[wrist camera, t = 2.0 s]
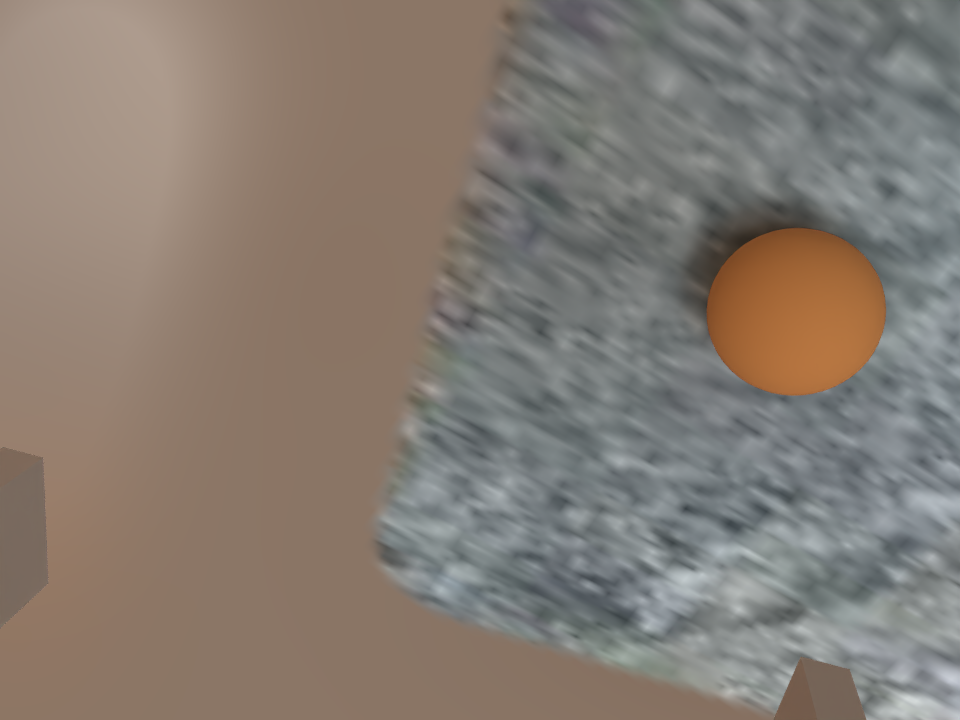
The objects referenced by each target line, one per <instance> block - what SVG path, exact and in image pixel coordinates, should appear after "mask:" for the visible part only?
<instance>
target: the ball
mask: <svg viewBox="0 0 960 720" xmlns="http://www.w3.org/2000/svg"><path fill="white" fill-rule="evenodd" d="M885 317H886V304H885V295H884V291H883V287H882V284H881V282H880V279H879V277H878V275H877V273H876V271H875V270H874V268H873V267H872V265H871V263H870V262H869V261H868V260H867V258H866V257H865V256H864V255H863V254H862V253H861V252H860V251H859V250H858V249H856V248H855V247H854V246H852V245H851V244H849V243H848V242H846V241H845V240H843V239H841V238H839V237H837V236H835V235H833V234H830V233H827V232H824V231H820V230H814V229H808V228H788V229H781V230H776V231H772V232H769V233H766V234H763V235H761V236H759V237H757V238H754V239H752V240H751V241H749V242H747V243H746V244H744V245H743V246H742V247H740V248H739V249H738V250H737V251H735V252H734V253H733V254H732V255H731V256H730V257H729V258H728V259H727V261H726V262H725V263H724V265H723V266H722V267H721V269H720V270H719V272H718V274H717V276H716V277H715V279H714V282H713V284H712V286H711V289H710V293H709V297H708V303H707V324H708V330H709V334H710V337H711V340H712V343H713V345H714V347H715V349H716V351H717V353H718V355H719V356H720V358H721V359H722V361H723V362H724V363H725V364H726V365H727V366H728V367H729V369H730V370H731V371H732V372H733V373H735V374H736V375H737V376H738V377H739V378H741V379H742V380H744V381H745V382H747V383H749V384H751V385H753V386H755V387H757V388H759V389H762V390H765V391H768V392H771V393H776V394H781V395H807V394H813V393H817V392H821V391H824V390H827V389H830V388H832V387H835V386H837V385H838V384H840V383H842V382H844V381H846V380H847V379H848V378H850V377H851V376H853V375H854V374H855V373H856V372H857V371H859V370H860V369H861V368H862V367H863V366H864V365H865V363H866V362H867V361H868V360H869V358H870V357H871V356H872V354H873V353H874V351H875V349H876V347H877V345H878V343H879V341H880V338H881V335H882V332H883V329H884V324H885Z"/></svg>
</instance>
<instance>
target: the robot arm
mask: <svg viewBox="0 0 960 720" xmlns="http://www.w3.org/2000/svg"><path fill="white" fill-rule="evenodd" d="M47 584H48V565H47V540H46V516H45V491H44V468H43V457H38V456H35V455H31V454H27V453H23V452H20V451H16V450H12V449H8V448H4V447H3V448H1V449H0V628H1V627H2V626H3V625H4V624H5V623H6V622H7V621H8V620H10V618H12V617H13V616H14V615H15V614H16V613H17V612H18V611H19V610H20V609H21V608H22V607H24V606H25V605H26V604H27V603H28V602H29V601H30V600H31V599H32V598H33V597H34V596H35V595H36V594H37V593H39V591H41V590H42V589H43V588H44V587H45V586H46V585H47ZM774 720H866V717H865V714H864V711H863V708H862V705H861V702H860V699H859V696H858V693H857V690H856V687H855V684H854V681H853V678H852V675H851V672H850V669H846V668H842V667H838V666H835V665H831V664H827V663H823V662H819V661H816V660H812V659H808V658H804V657H800V660H799V662H798V664H797V667H796V669H795V671H794V674H793V676H792V678H791V680H790V683H789V685H788V687H787V690H786V692H785V694H784V697H783V699H782V701H781V703H780V706H779V708H778V710H777V713H776V715H775V717H774Z"/></svg>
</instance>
